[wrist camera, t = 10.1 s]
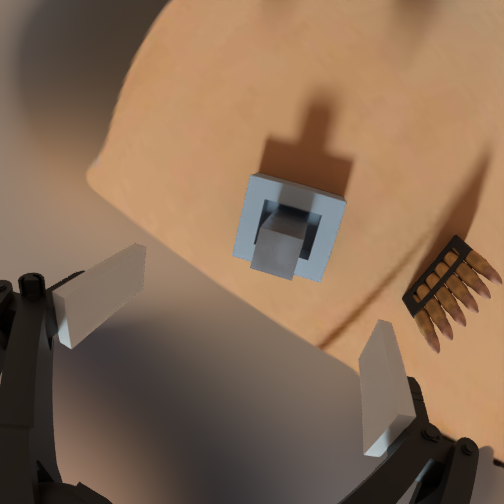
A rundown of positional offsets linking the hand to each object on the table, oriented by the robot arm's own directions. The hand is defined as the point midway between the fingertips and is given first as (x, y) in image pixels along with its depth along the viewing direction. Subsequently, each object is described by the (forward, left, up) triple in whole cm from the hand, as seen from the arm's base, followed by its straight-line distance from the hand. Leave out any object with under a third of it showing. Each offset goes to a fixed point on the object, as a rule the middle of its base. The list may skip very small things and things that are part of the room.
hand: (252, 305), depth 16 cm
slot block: (0, 0, -21) cm, 21 cm away
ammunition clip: (+1, +19, -21) cm, 28 cm away
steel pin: (0, 0, -20) cm, 20 cm away
